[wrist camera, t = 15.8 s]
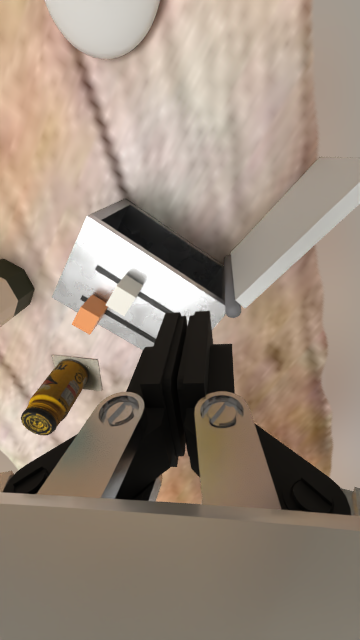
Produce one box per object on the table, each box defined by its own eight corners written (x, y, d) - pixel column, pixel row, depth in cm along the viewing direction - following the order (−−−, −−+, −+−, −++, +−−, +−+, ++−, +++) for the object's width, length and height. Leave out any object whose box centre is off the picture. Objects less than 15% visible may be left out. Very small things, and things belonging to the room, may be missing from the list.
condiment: (52, 354, 51) (9, 405, 40) (98, 359, 50) (65, 412, 40) (59, 385, 54) (22, 439, 44) (102, 389, 54) (74, 445, 43)
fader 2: (143, 285, 28) (135, 297, 26) (132, 303, 29) (124, 316, 27) (125, 274, 28) (116, 285, 25) (114, 292, 29) (105, 305, 26)
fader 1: (109, 304, 30) (99, 317, 27) (100, 320, 31) (89, 334, 28) (92, 294, 29) (80, 306, 27) (83, 311, 30) (71, 324, 28)
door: (234, 271, 39) (240, 326, 27) (221, 260, 38) (222, 311, 26) (332, 171, 32) (404, 181, 19) (318, 156, 31) (383, 157, 19)
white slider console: (227, 268, 39) (230, 309, 28) (187, 319, 44) (177, 370, 33) (125, 198, 36) (86, 216, 26) (94, 261, 41) (51, 297, 30)
